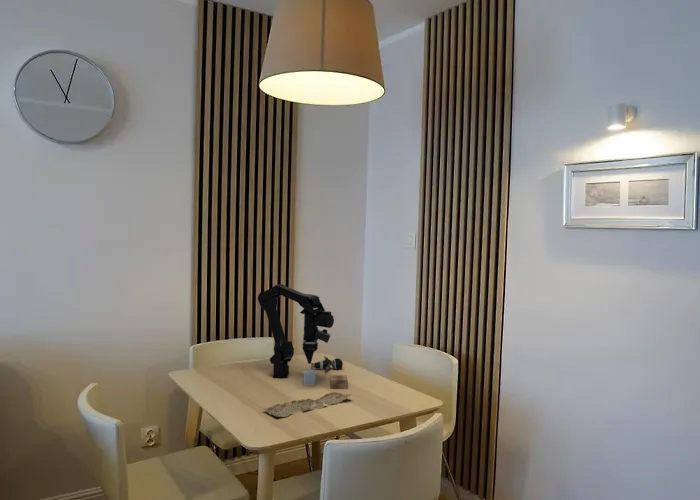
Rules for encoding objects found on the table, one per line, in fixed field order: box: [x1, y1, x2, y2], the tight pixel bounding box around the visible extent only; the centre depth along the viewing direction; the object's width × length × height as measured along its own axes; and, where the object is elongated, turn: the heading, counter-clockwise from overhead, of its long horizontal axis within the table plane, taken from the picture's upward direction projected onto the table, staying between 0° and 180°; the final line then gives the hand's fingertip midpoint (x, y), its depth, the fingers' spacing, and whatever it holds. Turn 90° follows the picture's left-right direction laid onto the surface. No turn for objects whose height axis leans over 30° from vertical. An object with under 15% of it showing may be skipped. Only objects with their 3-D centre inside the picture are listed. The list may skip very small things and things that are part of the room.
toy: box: [310, 356, 344, 373], centre depth 248 cm, size 16×5×15 cm
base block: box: [329, 374, 349, 390], centre depth 221 cm, size 7×7×4 cm
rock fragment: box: [262, 391, 352, 418], centre depth 196 cm, size 34×10×3 cm, turn 131°
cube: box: [303, 369, 317, 386], centre depth 225 cm, size 5×5×5 cm
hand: (309, 360), depth 225 cm, fingers open, 9 cm apart
